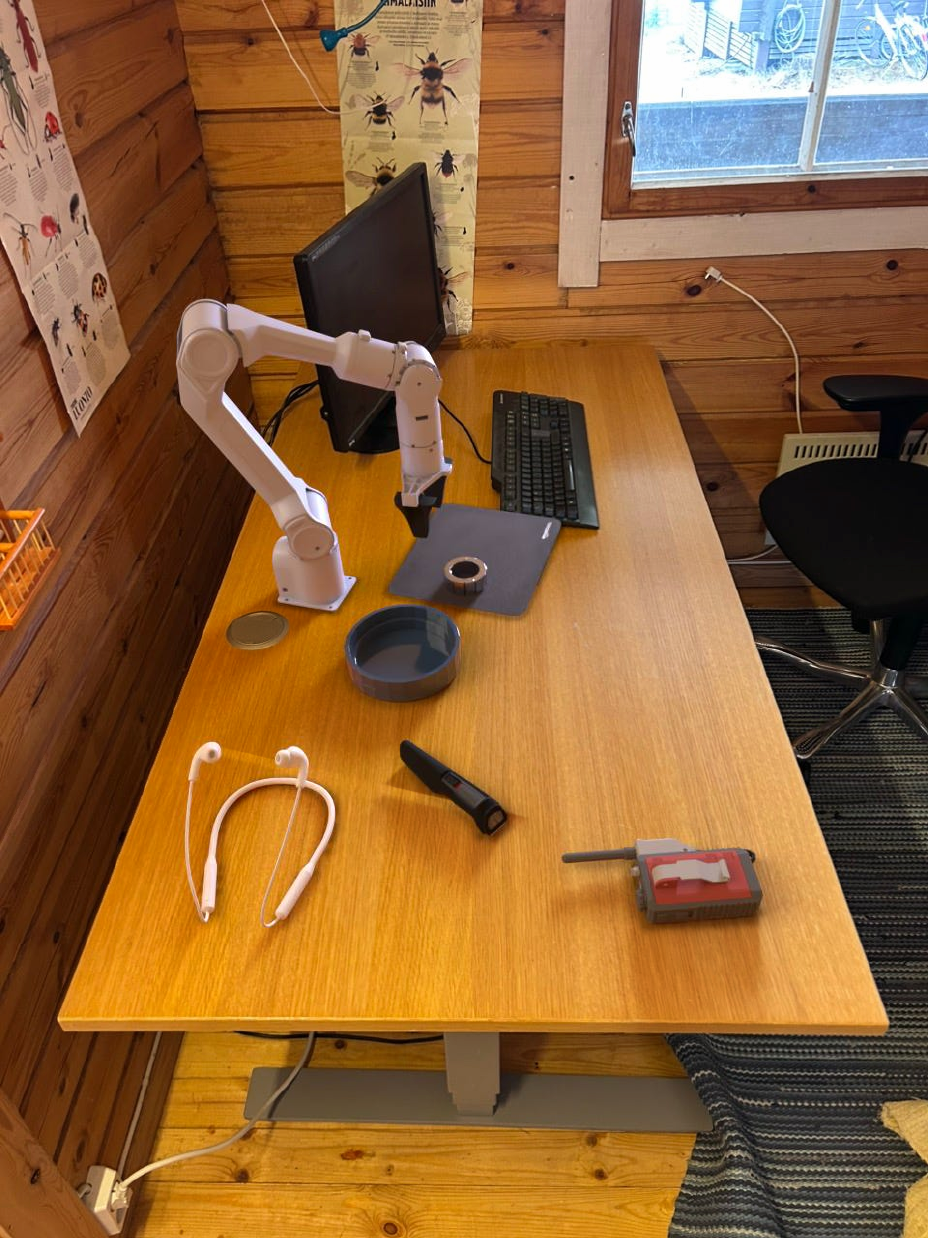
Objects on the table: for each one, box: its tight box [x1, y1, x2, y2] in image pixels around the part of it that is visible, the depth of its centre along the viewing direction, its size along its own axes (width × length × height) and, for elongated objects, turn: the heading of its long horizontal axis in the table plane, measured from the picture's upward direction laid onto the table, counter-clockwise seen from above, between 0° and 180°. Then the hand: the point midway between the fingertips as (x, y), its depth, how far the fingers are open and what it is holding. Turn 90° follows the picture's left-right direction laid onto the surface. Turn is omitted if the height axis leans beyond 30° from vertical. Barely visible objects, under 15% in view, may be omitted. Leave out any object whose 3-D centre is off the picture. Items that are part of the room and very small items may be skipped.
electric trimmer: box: [399, 739, 508, 837], centre depth 99 cm, size 4×16×3 cm, turn 45°
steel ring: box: [444, 557, 487, 596], centre depth 127 cm, size 6×6×3 cm
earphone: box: [184, 741, 336, 929], centre depth 93 cm, size 14×17×18 cm
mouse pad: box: [387, 502, 562, 617], centre depth 133 cm, size 25×21×1 cm
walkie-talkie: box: [561, 837, 764, 925], centre depth 88 cm, size 9×4×20 cm
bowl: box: [343, 603, 462, 703], centre depth 115 cm, size 15×15×4 cm
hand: (427, 520), depth 124 cm, fingers open, 7 cm apart
